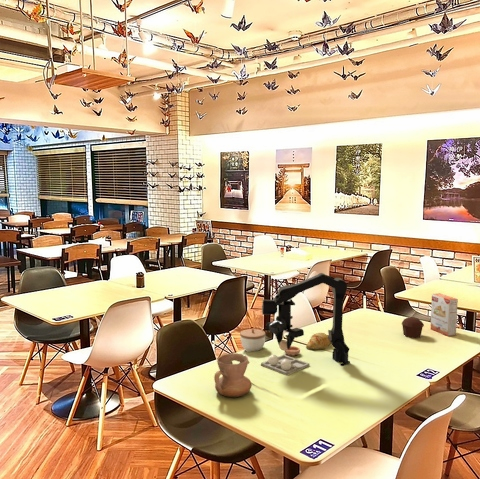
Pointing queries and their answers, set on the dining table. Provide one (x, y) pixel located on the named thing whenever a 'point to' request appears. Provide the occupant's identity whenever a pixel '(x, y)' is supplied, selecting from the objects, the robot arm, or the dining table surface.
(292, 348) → the small terracotta bowl
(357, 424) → the dining table surface
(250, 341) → the lidded bowl
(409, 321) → the muffin
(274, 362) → the white egg
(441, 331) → the cracker box
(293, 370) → the egg carton
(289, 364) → the white egg
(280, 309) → the robot arm
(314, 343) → the croissant
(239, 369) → the ceramic jug
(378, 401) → the dining table surface
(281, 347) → the brown egg
